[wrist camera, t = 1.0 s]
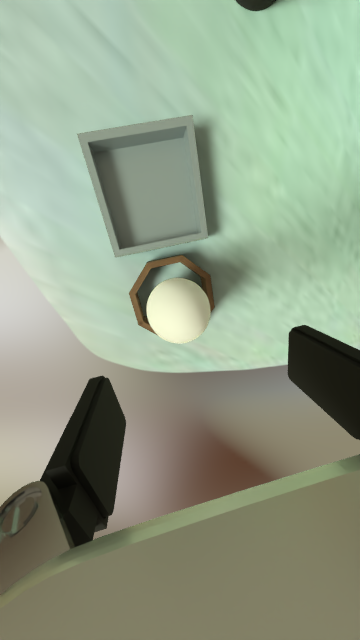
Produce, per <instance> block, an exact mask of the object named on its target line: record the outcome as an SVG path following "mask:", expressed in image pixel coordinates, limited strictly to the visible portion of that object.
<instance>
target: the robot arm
mask: <svg viewBox="0 0 360 640" xmlns="http://www.w3.org/2000/svg"><path fill="white" fill-rule="evenodd" d="M288 376H289V378H290V380H291V381H292V382H293V383H294V384H296V385H297V386H298V387H299V388H300V389H301V390H302V391H303V392H304V393H305V394H306V395H308V396H309V397H310V398H311V399H312V400H313V401H314V402H315V403H316V404H317V405H319V406H320V407H321V408H322V409H323V410H324V411H325V412H326V413H327V414H328V415H330V416H331V417H332V418H333V419H334V420H335V421H336V422H337V423H338V424H339V425H340V426H342V427H343V428H344V429H345V430H346V431H347V432H348V433H349V434H350V435H351V436H353V437H354V438H356V439H359V440H360V350H358V349H356V348H354V347H352V346H349V345H347V344H345V343H343V342H341V341H339V340H337V339H334V338H332V337H330V336H328V335H326V334H324V333H322V332H319V331H317V330H315V329H313V328H311V327H309V326H306V325H302V326H298V327H294V328H292V330H291V331H290V332H289V348H288ZM125 427H126V420H125V416H124V414H123V412H122V409H121V407H120V404H119V402H118V400H117V397H116V395H115V392H114V390H113V388H112V385H111V383H110V380H109V379H108V378H105V377H104V376H99V377H96V378H92V379H90V380H89V381H88V384H87V386H86V388H85V390H84V392H83V394H82V396H81V398H80V400H79V402H78V404H77V406H76V408H75V410H74V412H73V414H72V416H71V418H70V420H69V422H68V424H67V426H66V428H65V430H64V432H63V434H62V436H61V438H60V441H59V443H58V444H57V446H56V448H55V451H54V453H53V455H52V457H51V459H50V461H49V463H48V465H47V467H46V469H45V471H44V473H43V475H42V478H41V479H40V481H36V482H31V483H29V484H27V485H25V486H23V487H22V488H20V489H19V490H17V491H16V492H15V493H13V494H12V495H11V496H10V497H9V498H8V499H7V500H6V501H5V502H4V503H3V504H2V505H1V506H0V640H360V454H359V455H357V456H353V457H350V458H346V459H343V460H340V461H337V462H333V463H330V464H327V465H323V466H320V467H317V468H314V469H310V470H308V471H304V472H301V473H298V474H294V475H291V476H288V477H285V478H281V479H278V480H275V481H272V482H269V483H265V484H262V485H259V486H256V487H253V488H249V489H246V490H243V491H240V492H237V493H233V494H230V495H227V496H224V497H221V498H218V499H215V500H211V501H208V502H206V503H202V504H199V505H196V506H192V507H189V508H186V509H183V510H180V511H177V512H174V513H170V514H167V515H164V516H161V517H158V518H155V519H152V520H149V521H146V522H143V523H140V524H137V525H135V526H132V527H129V528H126V529H123V530H120V531H117V532H114V533H111V534H108V535H105V536H102V537H99V538H97V539H95V540H93V535H94V532H97V531H100V530H103V529H106V528H107V522H108V516H110V515H112V513H113V509H114V504H115V496H116V490H117V482H118V475H119V468H120V462H121V455H122V448H123V441H124V435H125Z"/></svg>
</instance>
